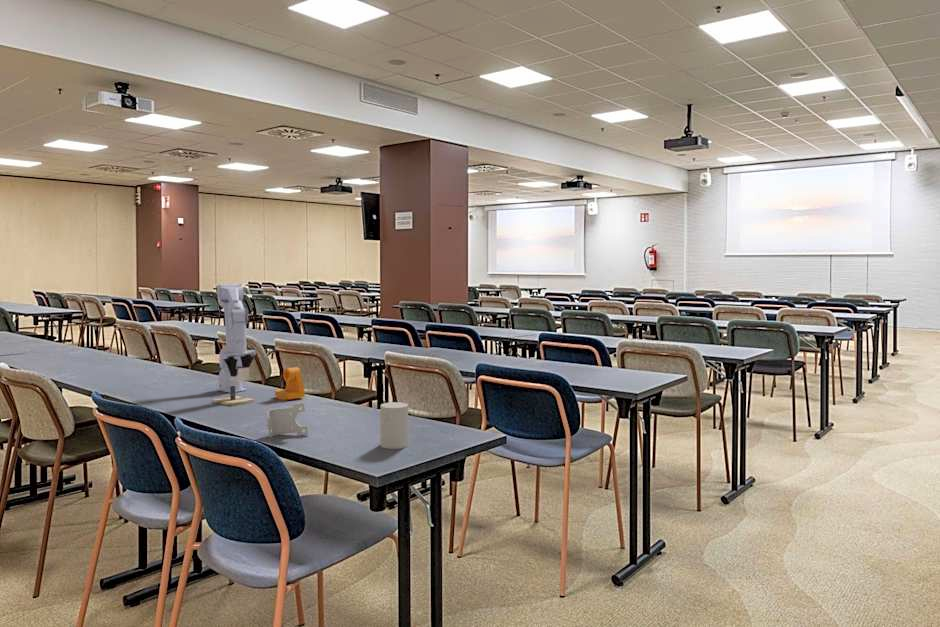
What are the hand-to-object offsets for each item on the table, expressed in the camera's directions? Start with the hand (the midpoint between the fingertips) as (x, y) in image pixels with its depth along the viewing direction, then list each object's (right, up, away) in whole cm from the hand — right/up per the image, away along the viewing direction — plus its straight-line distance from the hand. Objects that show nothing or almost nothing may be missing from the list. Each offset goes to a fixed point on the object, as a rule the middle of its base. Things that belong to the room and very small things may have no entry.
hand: (239, 375), depth 270 cm
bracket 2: (+33, -14, -54) cm, 65 cm away
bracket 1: (+18, -10, +5) cm, 21 cm away
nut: (0, -2, 0) cm, 2 cm away
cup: (+67, -15, -63) cm, 93 cm away
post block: (-1, -10, -3) cm, 10 cm away
